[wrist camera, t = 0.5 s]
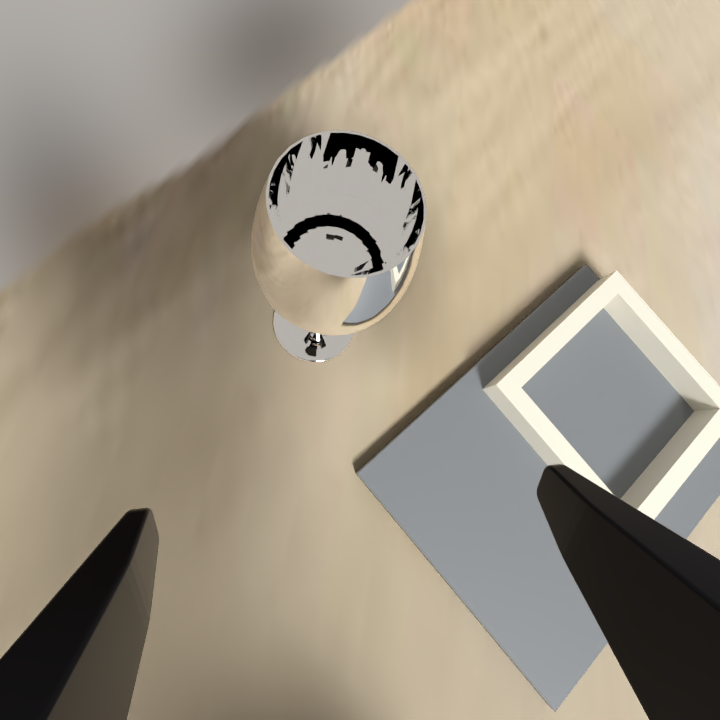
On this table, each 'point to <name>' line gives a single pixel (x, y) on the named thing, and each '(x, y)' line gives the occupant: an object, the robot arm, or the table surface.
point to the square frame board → (552, 463)
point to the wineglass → (336, 239)
